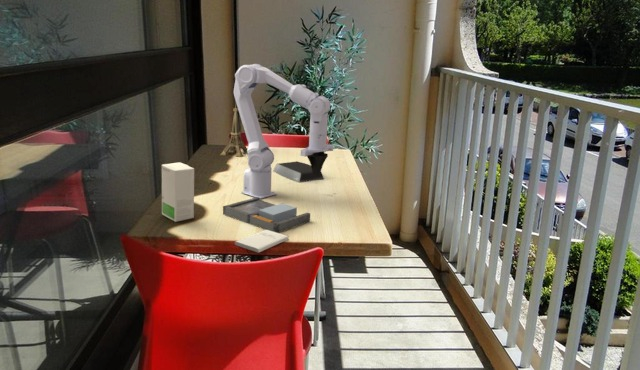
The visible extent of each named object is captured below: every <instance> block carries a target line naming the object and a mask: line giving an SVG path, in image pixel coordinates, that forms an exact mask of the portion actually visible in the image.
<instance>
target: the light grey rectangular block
mask: <svg viewBox="0 0 640 370" xmlns="http://www.w3.org/2000/svg"><path fill="white" fill-rule="evenodd" d="M297 209H298V208H297V207H296V206H292V205H289V204H287V203H278V204H275V205H274V206H271V207H267V208H264V209H260V210H259V216H261V217H264V218H267V219H270V220H273V222H276V223H277V222H280V221H283V220H286V219H289V218H292V217H295V216H298V215H297Z"/></svg>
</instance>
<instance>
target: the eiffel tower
mask: <svg viewBox="0 0 640 370" xmlns="http://www.w3.org/2000/svg"><path fill="white" fill-rule="evenodd" d="M232 109H233V110H232V111H233V120H232V128H231V132H230V139H229V141H228V142H227V145H226V146H225V147H224V149H223V150H222V152H221V153H220V154H219V156H227V155H229V153H235V152H236V155H235V157H236V158H242V157H244V154H245V155H248V153H247V149H248V147H247V146H246V145H245V144H244V141H243V139H242V136H241V134H242V132H241V131H240V124H239V123H240V122H239V114H238V113H239V110H238V107H237V104H235V107H234V108H232ZM240 148H241V149H240ZM241 150H242V151H241Z"/></svg>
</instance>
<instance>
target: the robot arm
mask: <svg viewBox="0 0 640 370" xmlns="http://www.w3.org/2000/svg"><path fill="white" fill-rule="evenodd" d="M234 78H235V82H234V86H233V87H234V88H233V96H234V100H235V105H236V108H238V110H239V111H238V113H239V114H238V115H239V116H240V117H239V118H240V120H241V122H242V123H241V124H242V126H243V129H244V133H245V136H246V140H247V142H248V147H247V153H248V154H247V165H248V167H247V168H246V169H245V170H244V173H243V186H242V187H243V191H241V194H244V195H246V196H249V197H252V198H256V197H259V198H260V200H262V199H264V198H268V197H272V196H275V195H277V192H275V191H272V164H273V163H274V162H275V161H274V160H275V154H274V152H273V151H272V149H270V146H269V144H268V142H267V141H266V140H265V139H264V136H263V131H262V129H261V128H262V127H261V126H260V121H259V118H258V116H257V112H256V109H255V105H254V101H253V98H252V93H253V92H254V90H255V88H256V87H257V86H258V85H259V84H268V85H271V86H272V87H274V88H276V89H278V90H280V91H282V92H284V93H286V94H287V95H288V96H289V98H290V100H291V101H292V102H293V103H296V104H297V105H299V106H301V107H302V108H305V109H306V110H308V113H310V117H309V118H310V120H309V135H308V137H309V139H308V146H307V147H305V148H303V149H300V156H301V157H307V159H308V161H309V165H311V168H312V172H313V175H320V173H322V169H323V166H324V164H325V162H326V160H327V158H328V156H329V154H328V153H326V152H333V151H334V145H333V144H327V143H328V139H327V138H328V120H329V119H328V115H329V113H328V112H329V110H330V108H331V102H330V100H329V99H328V98H327V97H326V96H324V95H319V93H318V92H317V91H316V92H313V91H312V90H310V89H308V88H307V85H305V84H300V83H299V84H294V85H293V83H292V82H289V81H287V80H286V79H285V78H283V77H281V76H280V75H278V74H276V73H275V72H273V71H272V70H271V69H269V68H268V67H265V66H262V65H261V64H259V63H253V64H243V65H241V66H240V67H239V68H238V69H237V70H236V72H235V73H234Z"/></svg>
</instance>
